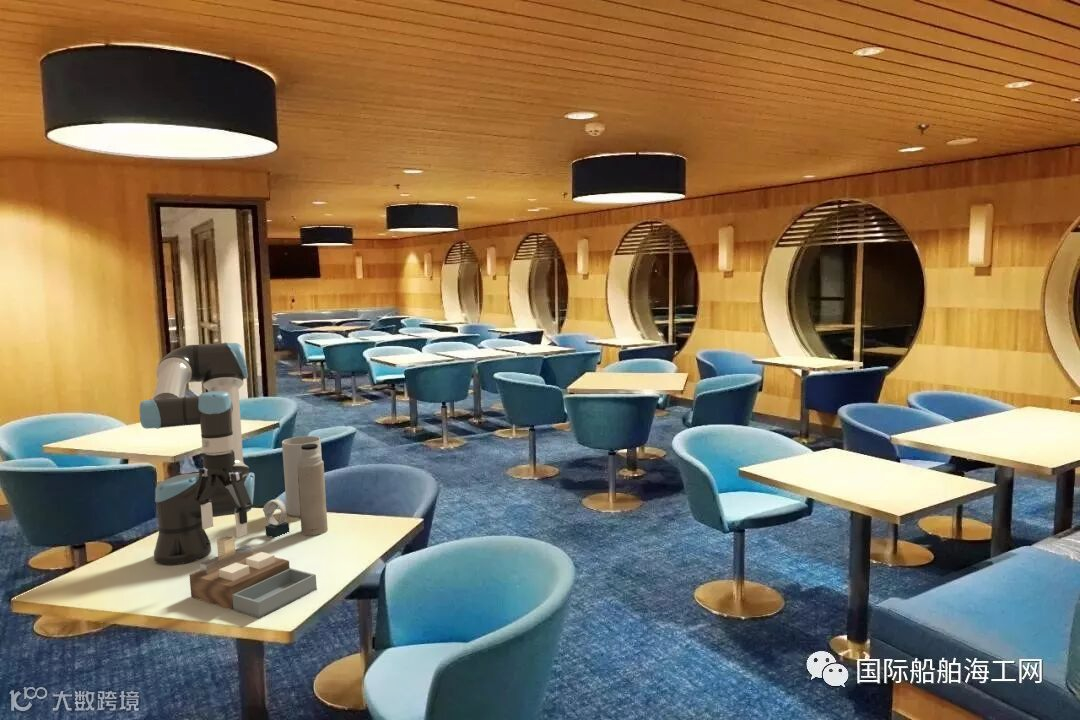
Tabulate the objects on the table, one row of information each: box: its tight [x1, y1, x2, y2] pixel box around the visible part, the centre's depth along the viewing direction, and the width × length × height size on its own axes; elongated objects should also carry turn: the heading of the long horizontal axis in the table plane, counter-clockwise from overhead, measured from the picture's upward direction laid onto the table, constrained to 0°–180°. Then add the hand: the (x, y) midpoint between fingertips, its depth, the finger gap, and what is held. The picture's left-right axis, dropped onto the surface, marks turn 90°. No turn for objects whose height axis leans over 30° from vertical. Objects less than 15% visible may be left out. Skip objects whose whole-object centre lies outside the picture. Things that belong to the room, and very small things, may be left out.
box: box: [232, 567, 318, 620], centre depth 186 cm, size 9×18×4 cm, turn 150°
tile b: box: [246, 551, 276, 569], centre depth 194 cm, size 5×5×2 cm
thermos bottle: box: [297, 444, 329, 536], centre depth 234 cm, size 8×8×28 cm
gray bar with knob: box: [199, 535, 254, 575], centre depth 194 cm, size 3×14×7 cm, turn 150°
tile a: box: [219, 563, 250, 581], centre depth 187 cm, size 5×5×2 cm
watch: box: [262, 498, 290, 538], centre depth 233 cm, size 6×8×11 cm
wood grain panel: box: [189, 551, 291, 611], centre depth 193 cm, size 16×18×6 cm
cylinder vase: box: [281, 435, 323, 517], centre depth 254 cm, size 12×12×25 cm
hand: (224, 531), depth 194 cm, fingers open, 13 cm apart
